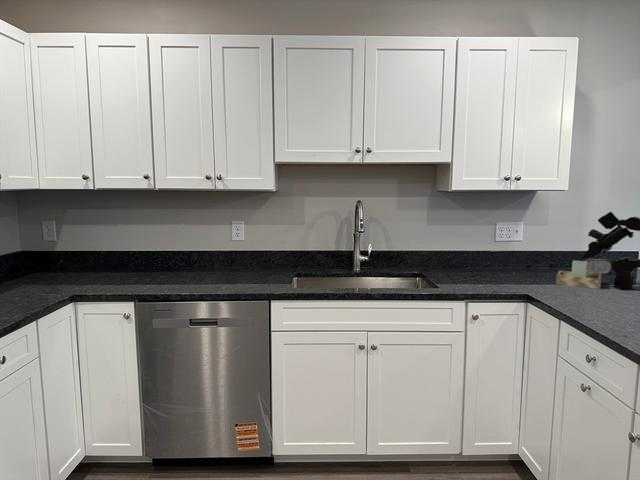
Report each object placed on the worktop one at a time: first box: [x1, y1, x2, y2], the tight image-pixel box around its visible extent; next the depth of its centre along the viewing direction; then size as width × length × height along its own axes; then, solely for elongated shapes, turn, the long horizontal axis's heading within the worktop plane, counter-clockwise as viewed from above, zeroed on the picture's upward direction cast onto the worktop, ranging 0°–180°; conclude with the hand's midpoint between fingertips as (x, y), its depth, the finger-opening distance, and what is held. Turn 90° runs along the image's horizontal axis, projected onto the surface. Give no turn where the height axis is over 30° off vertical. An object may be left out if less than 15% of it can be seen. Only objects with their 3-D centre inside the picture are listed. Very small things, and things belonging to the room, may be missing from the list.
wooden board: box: [555, 270, 602, 290], centre depth 203 cm, size 18×14×4 cm
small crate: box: [571, 260, 587, 278], centre depth 203 cm, size 6×6×10 cm
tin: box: [583, 258, 613, 275], centre depth 228 cm, size 15×3×8 cm, turn 84°
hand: (585, 257), depth 204 cm, fingers open, 9 cm apart
